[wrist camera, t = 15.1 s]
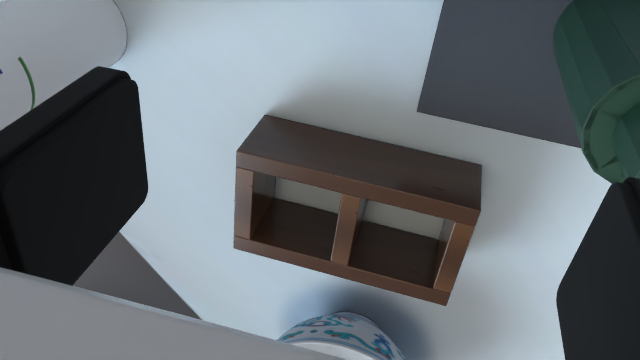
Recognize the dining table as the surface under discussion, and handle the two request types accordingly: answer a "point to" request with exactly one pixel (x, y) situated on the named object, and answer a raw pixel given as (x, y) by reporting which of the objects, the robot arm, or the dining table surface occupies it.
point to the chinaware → (343, 337)
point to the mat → (499, 68)
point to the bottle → (603, 81)
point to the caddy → (355, 207)
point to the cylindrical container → (53, 48)
